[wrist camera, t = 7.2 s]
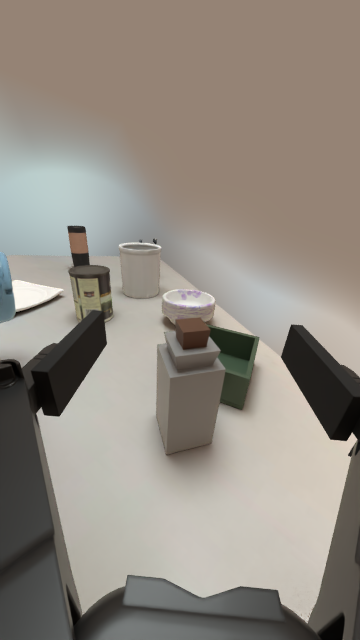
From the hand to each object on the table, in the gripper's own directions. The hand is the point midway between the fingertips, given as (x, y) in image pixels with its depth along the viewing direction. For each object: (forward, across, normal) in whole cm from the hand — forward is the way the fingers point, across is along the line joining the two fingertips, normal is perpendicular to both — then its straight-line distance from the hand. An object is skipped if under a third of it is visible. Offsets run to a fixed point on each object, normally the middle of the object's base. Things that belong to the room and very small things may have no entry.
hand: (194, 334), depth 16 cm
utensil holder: (+68, -19, -22) cm, 74 cm away
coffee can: (+44, -28, -22) cm, 57 cm away
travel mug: (+94, -54, -21) cm, 110 cm away
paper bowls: (+46, 0, -22) cm, 51 cm away
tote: (+23, +6, -22) cm, 32 cm away
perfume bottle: (+9, 0, -22) cm, 24 cm away
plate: (+50, -57, -22) cm, 79 cm away
